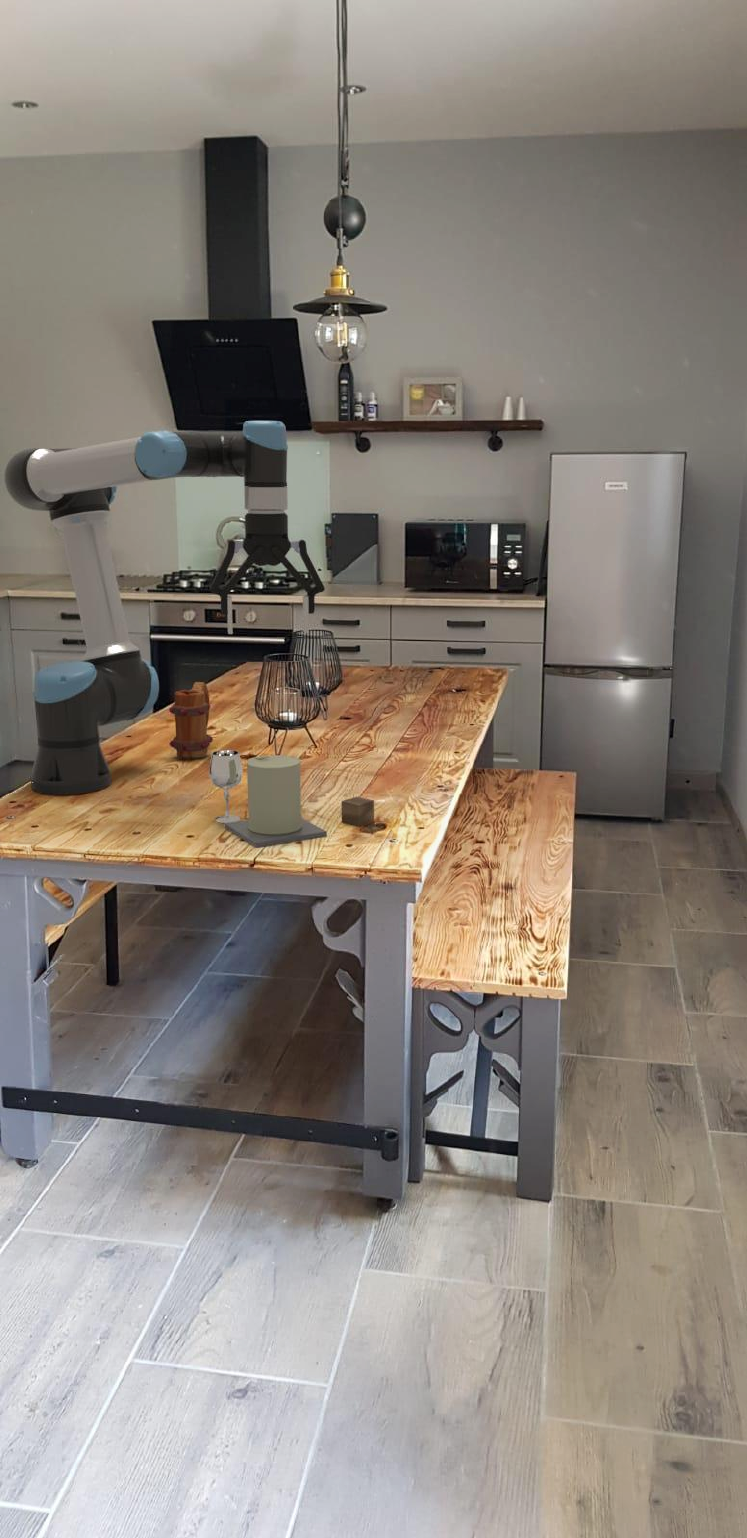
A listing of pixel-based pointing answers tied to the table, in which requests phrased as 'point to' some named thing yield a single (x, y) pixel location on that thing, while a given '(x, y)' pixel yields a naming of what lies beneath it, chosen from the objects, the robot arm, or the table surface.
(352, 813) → the walnut block
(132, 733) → the table surface
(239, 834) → the coaster
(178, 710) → the mug
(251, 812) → the can
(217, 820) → the wineglass
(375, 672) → the table surface
